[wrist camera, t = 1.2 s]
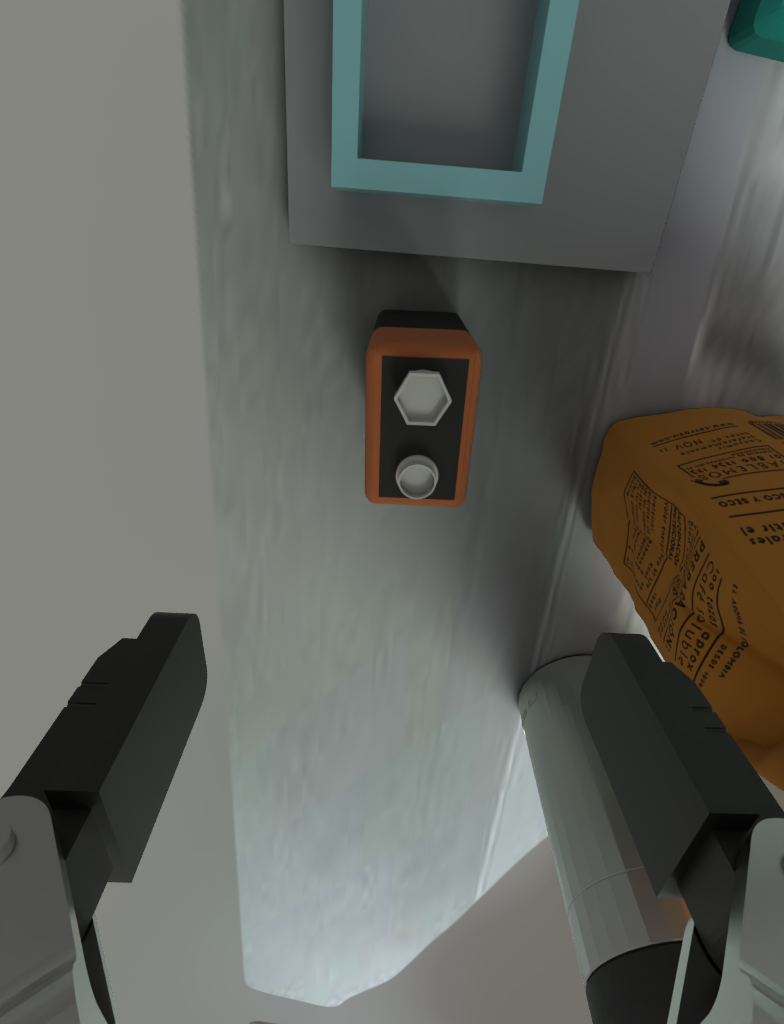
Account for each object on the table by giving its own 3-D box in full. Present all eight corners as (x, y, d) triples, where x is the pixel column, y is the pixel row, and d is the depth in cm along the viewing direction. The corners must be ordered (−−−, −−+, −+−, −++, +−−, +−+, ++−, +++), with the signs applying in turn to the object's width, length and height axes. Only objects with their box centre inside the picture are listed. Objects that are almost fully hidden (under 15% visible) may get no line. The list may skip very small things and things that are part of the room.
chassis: (783, -246, 17) (878, -367, 14) (638, 270, 25) (675, 277, 22) (285, -293, 17) (254, -429, 14) (295, 242, 25) (277, 245, 21)
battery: (461, 311, 26) (489, 352, 17) (449, 435, 30) (468, 521, 21) (377, 307, 26) (363, 346, 17) (375, 432, 30) (362, 517, 21)
